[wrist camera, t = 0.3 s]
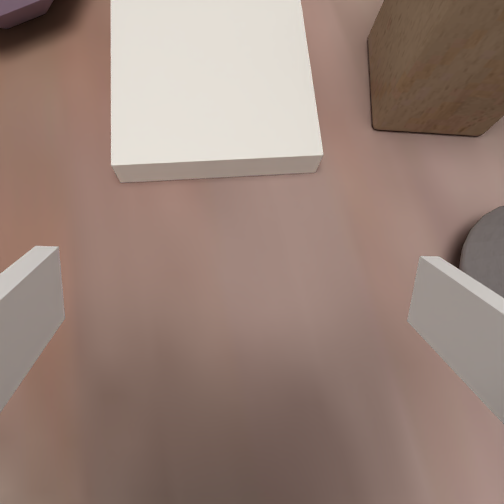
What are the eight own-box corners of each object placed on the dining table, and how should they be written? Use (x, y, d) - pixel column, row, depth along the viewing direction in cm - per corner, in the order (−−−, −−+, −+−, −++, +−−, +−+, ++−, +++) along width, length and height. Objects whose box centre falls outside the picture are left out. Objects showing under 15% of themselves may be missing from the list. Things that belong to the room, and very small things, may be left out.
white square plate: (315, 172, 36) (323, 155, 33) (120, 182, 34) (111, 165, 31) (293, 17, 40) (299, -11, 37) (119, 20, 38) (110, -9, 36)
